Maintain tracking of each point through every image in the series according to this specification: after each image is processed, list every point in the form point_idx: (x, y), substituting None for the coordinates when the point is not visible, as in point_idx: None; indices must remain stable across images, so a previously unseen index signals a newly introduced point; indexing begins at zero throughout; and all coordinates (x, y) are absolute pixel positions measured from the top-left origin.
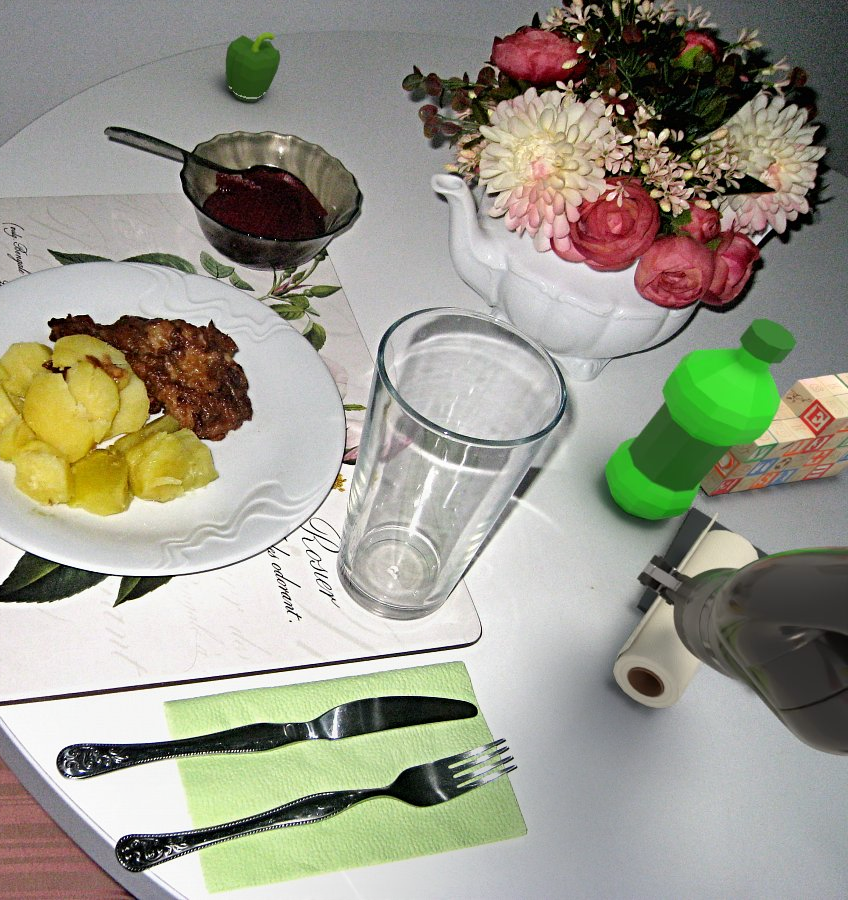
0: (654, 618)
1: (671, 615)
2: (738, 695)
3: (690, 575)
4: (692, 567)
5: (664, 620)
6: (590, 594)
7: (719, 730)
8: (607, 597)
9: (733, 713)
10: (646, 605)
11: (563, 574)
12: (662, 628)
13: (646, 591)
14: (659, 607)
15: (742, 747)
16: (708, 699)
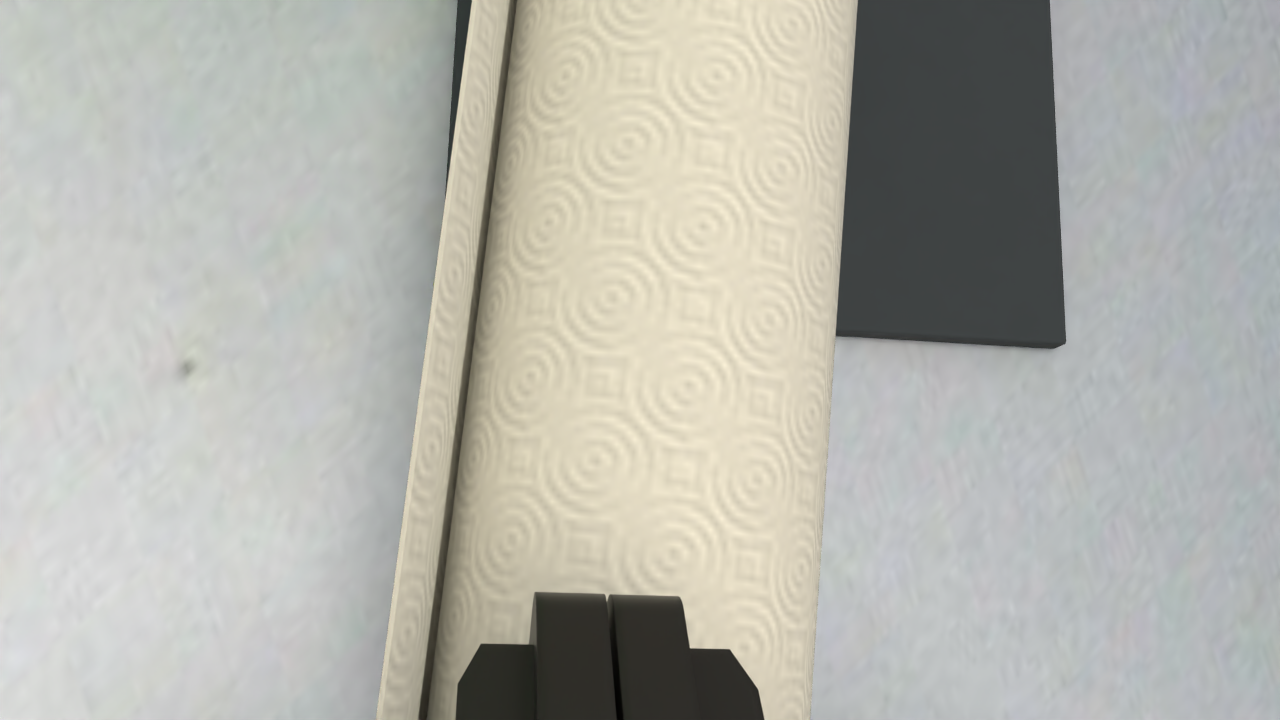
0: (475, 554)
1: (546, 508)
2: (1015, 445)
3: (561, 89)
4: (555, 13)
5: (522, 570)
6: (192, 418)
7: (1006, 710)
8: (282, 367)
9: (1028, 563)
10: None
11: (9, 401)
12: None
13: (445, 195)
14: (481, 431)
15: (1118, 715)
16: (911, 579)
